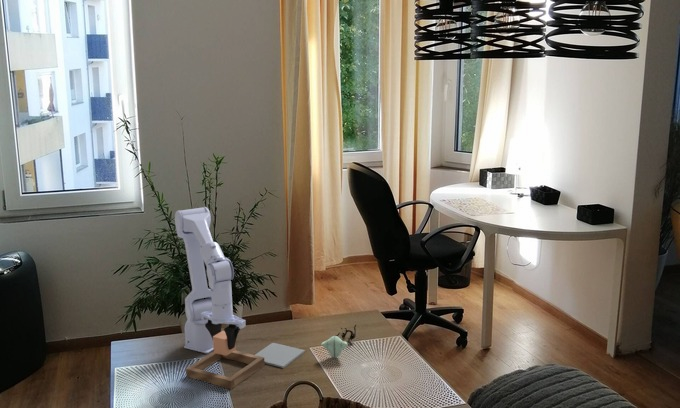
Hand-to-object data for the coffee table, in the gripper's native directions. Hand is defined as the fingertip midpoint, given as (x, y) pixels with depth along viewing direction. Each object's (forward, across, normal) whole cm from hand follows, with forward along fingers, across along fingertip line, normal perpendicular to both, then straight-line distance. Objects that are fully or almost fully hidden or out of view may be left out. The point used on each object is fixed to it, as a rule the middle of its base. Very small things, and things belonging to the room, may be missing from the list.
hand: (224, 346), depth 196 cm
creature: (+8, +21, +33) cm, 40 cm away
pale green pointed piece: (+8, +24, +22) cm, 34 cm away
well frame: (+8, 0, 0) cm, 8 cm away
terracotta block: (+2, 0, 0) cm, 2 cm away
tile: (+8, +8, +15) cm, 19 cm away
